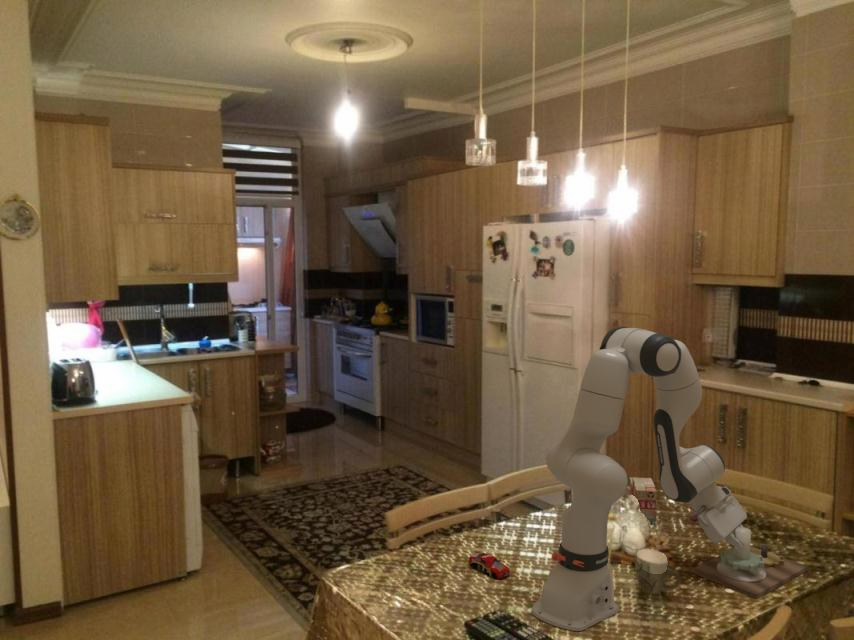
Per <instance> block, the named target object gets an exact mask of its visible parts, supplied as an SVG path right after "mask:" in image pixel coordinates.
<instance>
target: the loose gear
mask: <svg viewBox="0 0 854 640" xmlns="http://www.w3.org/2000/svg"><path fill="white" fill-rule="evenodd" d="M733 535H734V537H735V538H736V539H737V540H738V541H741V542H742V544H743V545H744V547H743V548H742V549H741V550H739V551H738V550H737V549H736V548H735V547H734V546H733V547H729V550H720V552H719V556H720V557H721V563H722V564H727V565H729V566H731V567H733V569H735V570H737V569H743V570H749V571H751V572H754V569H758V568H762V569H763V568H764V562H762V560H763V557H762V556H761V555H756V554H754V553H751V552H750V546H751V547H752V545H751V541H752V530H751V528H748V527H744V526H743V527H737V528H735V530H734V534H733Z"/></svg>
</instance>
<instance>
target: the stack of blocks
mask: <svg viewBox="0 0 854 640" xmlns="http://www.w3.org/2000/svg"><path fill="white" fill-rule="evenodd" d="M628 482H629V483H628V484H629V495H630V494H631V495H633V496H635V497H636V498H637V499H638V502H639V507H640V511H641V512H642V513H643V514H644V515H645V516H646V517H647V519H648V520H649V522H650V524H651V525H655V526H656V513H657V512H656V510H657V489H656V486H655V483H654V481H653V479H652V478H651V477H629V481H628Z"/></svg>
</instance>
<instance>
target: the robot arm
mask: <svg viewBox="0 0 854 640" xmlns="http://www.w3.org/2000/svg"><path fill="white" fill-rule="evenodd" d="M633 374H639V375H645V376H646V375H647V376H650V377H652V379H653V384H654V387H655V391H656V392H655V393H656V408H655V412H654V415H653V431H654V437H655V439H654V440H655V445H656V452H657V457H658V465H659V470H658V471H659V473H658V474H659V475H658V481H659V486H660V489H661V490H662V492H663V494H664V495H665V496H666V498H668V499H669V500H671V501H674V502H679V503H688V504H689V505H690V507H691V508H692V509H693V510H694V512H695V511H696V513H697V518H698V519H697V522H698V524H699V526H700V528H701V527H702V529H703V530H702V529H701V530H702V531H703V532H704V533H705V535H706V537H707V538H708V539H709V541H711V542H712V543H713V544H716V545H717V544H719V543H720V542H722V541H724V540H725V541H726V542H727V543H729V544H730V545H732V546H733V548H734V547H735V548H736V549H737V550H738V551H739V550H741V549H742V548H743V547H744V545H743V544H742V542H741V541H738V540H737V539H736V538H735V537H734V534H733V531H735V528H737V527H744V526H743V524H742V523H743V522H744V521H745V520H746V519H747V518H748V515H747V512H746V510H745V509H744V507H743V506H742V505H741V504H740V502H738V500H737V499H736V498H735V497H734V496H733V495H732V494H731V493H732V490H730V489H729V488H728V487H727V486H719V485H717V484H716V483H715V481H717V480H718V479H719V478H720V477H721V476H722V475H723V474H724V473H725V470H726V465H725V460H724V457H723V456H722V455H721V454H720V452H718V451H717V449H715V448H714V447H712V446H710V445H708V444H707V445H706V444H701V445H698V446H694V447H690V448H684V446H683V447H682V446H680V435H681V432H682V430H683V428H684V426H685V425H686V423H687V422H688V420H689V419H690V418H691V416H693V414H694V413H695V412H696V410H698V408H699V406H700V405H701V402H702V400H703V388H702V387H703V386H702V383H701V379H700V376H699V373H698V370H697V367H696V364H695V361H694V359H693V357H692V355H691V353H690V351H689V349H688V347H687V345H685V344H684V342H682V341H680V340H677V339H673V338H672V337H670V336H669V335H667V334H664V333H660V332H659V333H658V332H654V331H651V330H648V329H646V328H645V329H644V328H638V327H629V326H619V327H614V328H612V329H610V330H609V331H607V332H606V334H605V335H604V337H603V339H602V341H601V345H600V346H599V349H598V350H596V351H594V353H592V354H591V356H590V357H589V360H588V363H587V366H586V367H585V371H584V373H583V377H582V380H581V383H580V387H579V391H578V395H577V400H576V404H575V408H574V411H573V415H572V418H571V420H570V423H569V425H568V427H567V428H566V430H565V433H564V434H563V436H562V437H561V438H560V439H559V440H558V441H556V442H554V443H553V444H552V445H551V446H550V448H549V449H548V451H547V453H546V458H545V462H546V467H547V469H548V470H549V472H550V473H551V474H552V475H553V476H554V478H555V479H556V480H558V481H559V482H561V483H562V484H564V485H566V486H567V487H569V488H571V491H572V500H571V504H570V506H568V507H567V508H565V509H564V511H563V512H562V515H561V541H560V543H559V547H558V550H557V551H553V553H552V555H551V559H552V561H554V562H555V561H556V563H555V565H554V566H553V568H552V569H551V572H550V573H549V575H548V577H547V579H546V581H545V582H544V585H543V587H542V589H541V595H540V597H539V598H538V600H537V601H536V602H535V603H534V604H533V605H532V607H531V609H530V612H531V614H532V615H533V616H534V617H535V618H537V619H539V620H541V621H542V622H544V623H547V624H549V625H551V626H554V627H556V628H557V627H558V628H561V629H564V630H568V631H574V632H582V631H584V630H587V629H588V628H590V627H592V626H594V625H596V624H598V623H600V622H602V621H604V620H606V619H608V618H610V617H611V616H613V615H615V614H617V613H619V612H620V610H619V606H618V604H617V603H616V602H615V592H614V591H615V590H614V577H613V575H612V572H611V571H610V568H609V566H608V564H609V557H610V552H609V546H608V543H607V542H608V541H607V539H608V521H609V514H610V513H611V512H610V511H611V509H612V506H613V505H614V503H616V502H617V501H619V500H620V499H621V498H622V497H623V495H624V494H625V493H626V490H627V487H628V484H629V483H628V482H629V481H628V474H627V472H626V470H625V469H624V468H623V467H622V466H621V464H619V463H618V462H617V461H615V460H614V459H613V458H612V457H610V456H608V455H606V454H604V453H602V452H601V448H602V446H603V444H604V443H605V441H606V439H607V438H608V437H609V436H610V435H613V434H615V433H616V432H617V430H618V429H619V427H620V423H621V418H622V414H623V411H624V410H623V409H624V406H625V402H626V397H627V396H626V395H627V390H628V385H629V380H630V379H631V377H632V376H633Z"/></svg>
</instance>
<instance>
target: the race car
mask: <svg viewBox="0 0 854 640" xmlns="http://www.w3.org/2000/svg"><path fill="white" fill-rule="evenodd" d="M501 560H502V559H498V558H497V557H496V556H494V555H493V554H492V555H491V554H489V553H486V552H476V553H472V554H470V556H469V557H468V564H469V566H470V567H471V568H472V569H473V570H477V571H479V572H480V573H483V574H485V575H487V576H488V577H492V579H494V580H498V579H499V580H501V579H502V580H503V579H506V578H508V577H510V575H511V574H510V573H511V571H510V568H509V567H508V566H507V565H505V564H504V563H503V562H502V561H501Z"/></svg>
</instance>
